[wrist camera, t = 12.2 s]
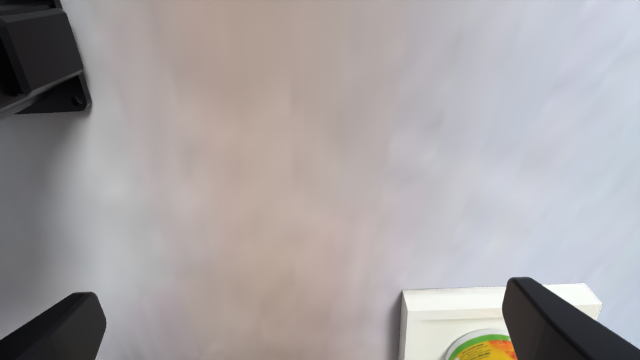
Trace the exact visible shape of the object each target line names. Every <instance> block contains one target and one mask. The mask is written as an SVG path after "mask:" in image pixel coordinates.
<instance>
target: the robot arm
mask: <svg viewBox="0 0 640 360" xmlns="http://www.w3.org/2000/svg"><path fill="white" fill-rule="evenodd" d="M82 70H83V64H82V61H81V58H80V55H79V52H78V49H77V45H76V42H75V39H74V36H73V33H72V30H71V27H70V23H69V20H68V17H67V14H66V13H65V12H64V11H63V10H62V7H61V4H60V0H0V120H2V119H4V118H6V117H8V116H11V115H13V114H33V113H54V112H75V111H83V110H85V109H87V108H88V107H89V106H90V105H91V97H90V94H89V91H88V88H87V85H86V82H85V79H84V75H83V72H82ZM75 96H77V97H79V98H80V99H81V101H82V104H80V103H78V102H77V101H76V98H75ZM502 314H503V318H504V321H505V324H506V327H507V330H508V333H509V336H510V339H511V342H512V345H513V348H514V351H515V354H516V357H517V360H640V349H638V348H637V347H635V346H634V345H632V344H631V343H629V342H628V341H626V340H625V339H623V338H622V337H620V336H619V335H617V334H616V333H614V332H612V331H611V330H609V329H608V328H606V327H605V326H603V325H602V324H600V323H599V322H597V321H596V320H594V319H593V318H591V317H590V316H588V315H587V314H585V313H584V312H582V311H581V310H579V309H578V308H576V307H575V306H573V305H572V304H570V303H569V302H567V301H565V300H564V299H562V298H561V297H559V296H558V295H556V294H555V293H553V292H552V291H550V290H549V289H547V288H546V287H544V286H543V285H541V284H540V283H538V282H537V281H535V280H534V279H532V278H530V277H512V278H510V279H509V280H508V282H507V286H506V290H505V294H504V299H503V303H502ZM105 329H106V317H105V315H104V312H103V310H102V307H101V305H100V302H99V300H98V297H97V295H96V294H95V293H93V292H76V293H72V294H71V295H69V296H67V297H66V298H64V299H63V300H61V301H60V302H58V303H57V304H55V305H54V306H52V307H51V308H49V309H48V310H46V311H45V312H43V313H41V314H40V315H38V316H37V317H35V318H34V319H32V320H31V321H29V322H28V323H26V324H25V325H23V326H22V327H20V328H18V329H17V330H15V331H14V332H12V333H11V334H9V335H8V336H6V337H5V338H3V339H2V340H0V360H95V358H96V356H97V353H98V350H99V347H100V344H101V341H102V338H103V335H104V332H105Z"/></svg>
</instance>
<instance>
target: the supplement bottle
mask: <svg viewBox="0 0 640 360" xmlns="http://www.w3.org/2000/svg"><path fill="white" fill-rule="evenodd" d="M446 360H517V357H516V354H515V351H514V348H513V345H512V342H511V339H510V336H509V333H508V332H507V331H504V330H499V329H482V330H477V331H474V332H471V333H469V334H467V335H464V336H463V337H461V338H460V339H458V340H457V341H456V342H455V343H454V344H453V345H452V346H451V348H450V349H449V351H448V353H447V356H446Z"/></svg>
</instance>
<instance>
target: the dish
mask: <svg viewBox="0 0 640 360" xmlns="http://www.w3.org/2000/svg"><path fill="white" fill-rule="evenodd" d="M543 286H544V287H546V288H547V289H549V290H550V291H552V292H553V293H555V294H556V295H558V296H559V297H561V298H562V299H564V300H565V301H567V302H569V303H570V304H572V305H573V306H575V307H576V308H578V309H579V310H581V311H582V312H584V313H585V314H587V315H588V316H590V317H591V318H593V319H594V320H597V317H598V314H599V312H600V309H601V307H602V303H601V302H600V301H599V299H598V298H597V297H596V296H595V295H594V294H593V292H592V291H591V290H590V289H589V288H588V286H587V285H586V284H585V283H578V284H551V285H543ZM505 290H506V286H499V287H472V288H446V289H420V290H402V306H401V321H400V337H399V353H398V360H446V356H447V353H448V351H449V349H450V348H451V346H452V345H453V344H454V343H455V342H456V341H457V340H458V339H460V338H461V337H463V336H464V335H467V334H469V333H471V332H474V331H477V330H482V329H499V330H504V331H507V332H508V330H507V327H506V324H505V321H504V318H503V314H502V303H503V299H504V294H505Z"/></svg>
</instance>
